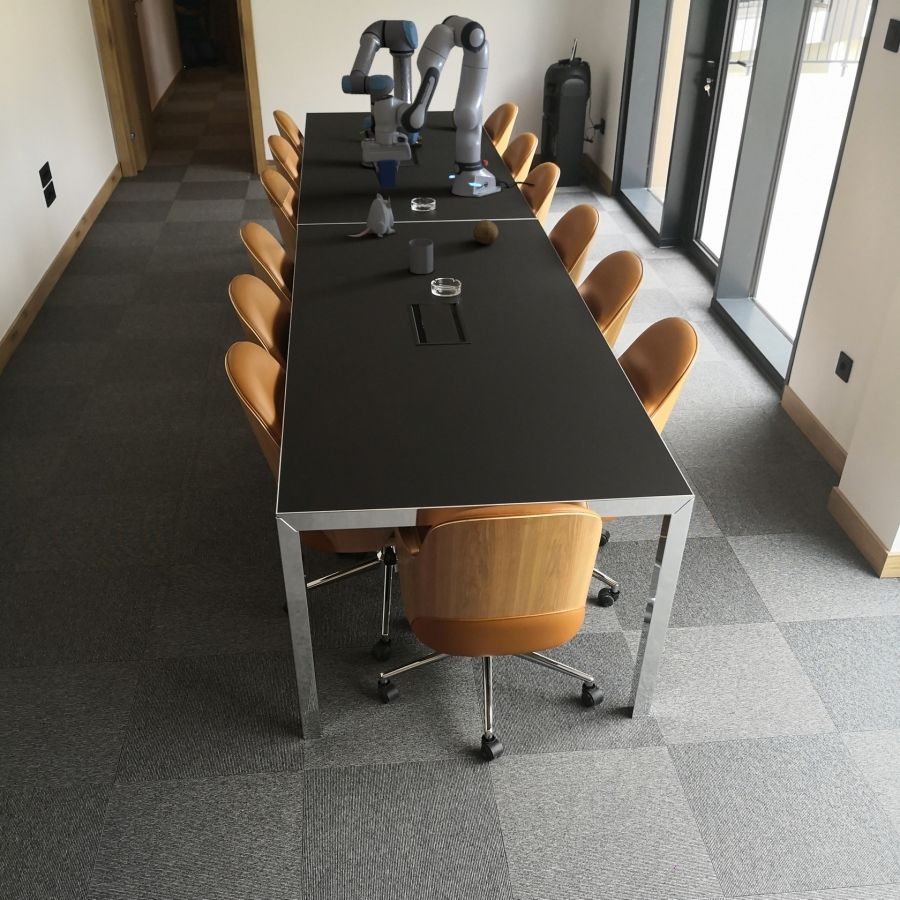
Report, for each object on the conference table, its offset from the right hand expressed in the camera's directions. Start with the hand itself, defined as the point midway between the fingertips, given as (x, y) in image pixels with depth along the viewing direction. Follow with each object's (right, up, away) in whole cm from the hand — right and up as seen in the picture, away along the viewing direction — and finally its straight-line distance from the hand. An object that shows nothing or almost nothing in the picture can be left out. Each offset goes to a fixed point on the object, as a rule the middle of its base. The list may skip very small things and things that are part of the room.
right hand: (387, 171), depth 364 cm
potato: (+40, -38, -31) cm, 63 cm away
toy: (-4, -34, -26) cm, 43 cm away
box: (-2, +1, +12) cm, 12 cm away
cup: (+16, -53, -56) cm, 79 cm away
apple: (+33, +64, +127) cm, 146 cm away
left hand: (-4, +7, +19) cm, 21 cm away
